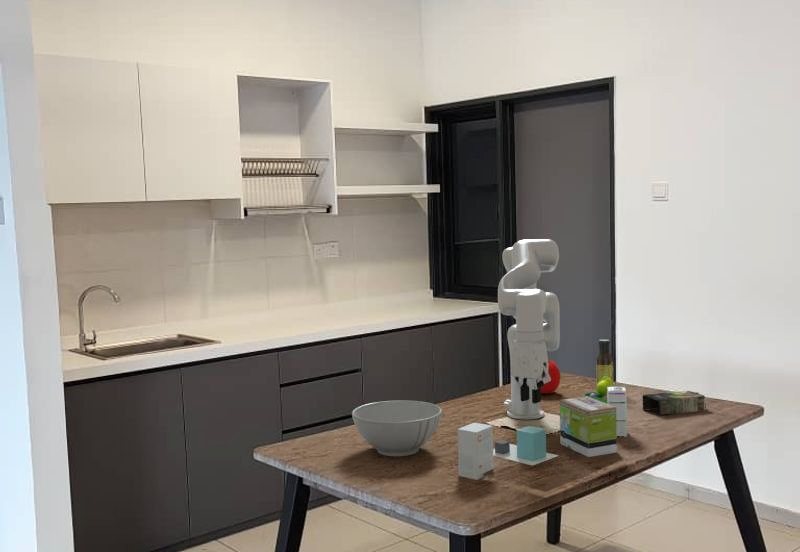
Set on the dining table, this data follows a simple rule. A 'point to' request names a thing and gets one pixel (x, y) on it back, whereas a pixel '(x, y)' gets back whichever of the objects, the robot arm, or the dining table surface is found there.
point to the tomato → (552, 378)
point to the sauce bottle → (604, 362)
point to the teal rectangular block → (531, 443)
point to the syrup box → (619, 408)
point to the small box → (475, 450)
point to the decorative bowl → (397, 425)
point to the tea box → (588, 426)
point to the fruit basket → (601, 390)
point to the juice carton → (674, 402)
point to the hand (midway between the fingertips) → (530, 400)
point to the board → (515, 453)
